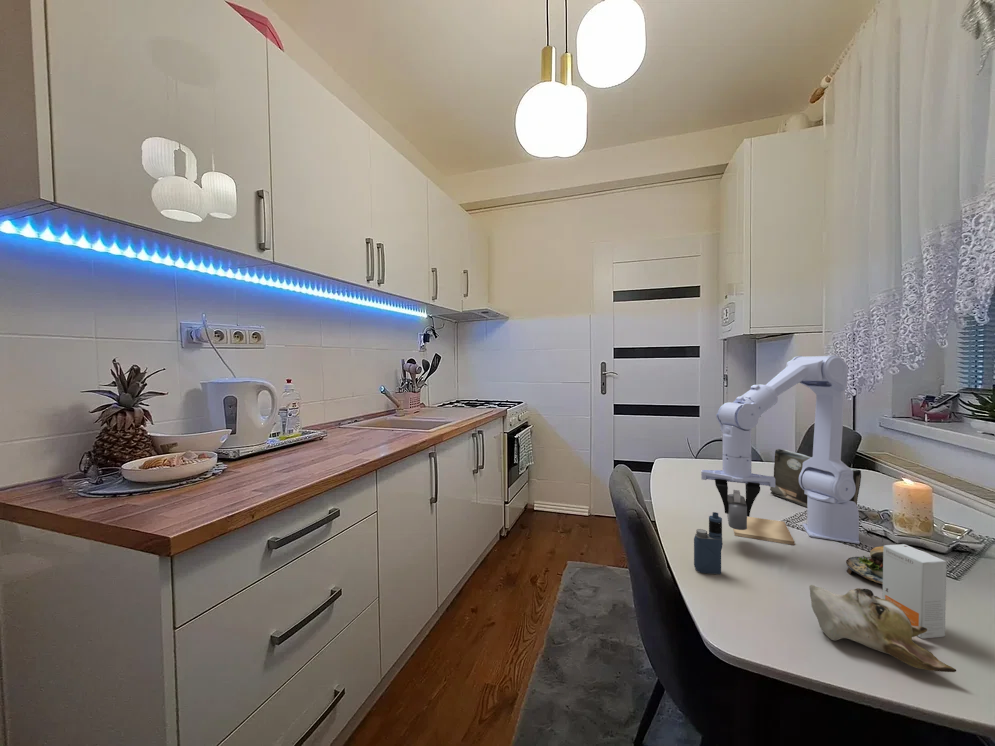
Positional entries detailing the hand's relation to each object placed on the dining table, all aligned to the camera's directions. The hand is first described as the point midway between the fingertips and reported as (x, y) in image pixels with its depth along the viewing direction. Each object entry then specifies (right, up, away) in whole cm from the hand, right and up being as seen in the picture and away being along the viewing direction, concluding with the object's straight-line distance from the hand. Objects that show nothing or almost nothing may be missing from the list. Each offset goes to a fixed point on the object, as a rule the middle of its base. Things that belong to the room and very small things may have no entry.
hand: (736, 513), depth 92 cm
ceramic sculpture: (+1, -9, -32) cm, 33 cm away
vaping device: (-12, -8, -10) cm, 18 cm away
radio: (+39, -7, +26) cm, 47 cm away
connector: (0, -2, 0) cm, 2 cm away
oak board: (+11, -7, +9) cm, 16 cm away
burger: (+21, -8, -14) cm, 26 cm away
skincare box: (+11, -8, -28) cm, 31 cm away
